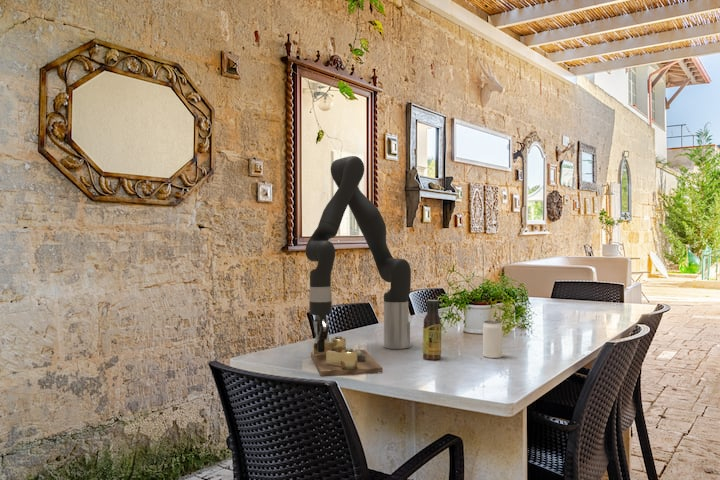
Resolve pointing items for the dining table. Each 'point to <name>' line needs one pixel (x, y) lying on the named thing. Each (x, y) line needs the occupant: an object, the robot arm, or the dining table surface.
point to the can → (492, 339)
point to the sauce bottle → (432, 332)
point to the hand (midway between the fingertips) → (320, 351)
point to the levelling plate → (330, 369)
